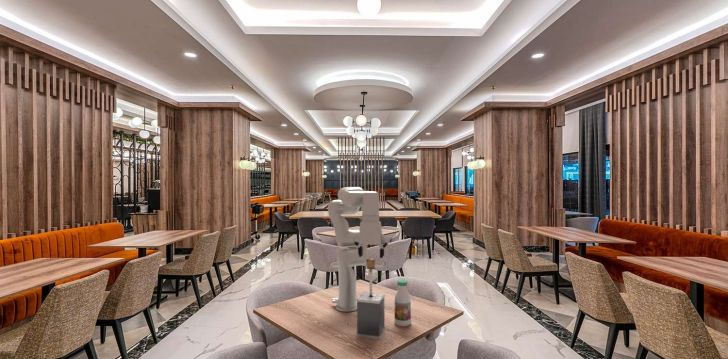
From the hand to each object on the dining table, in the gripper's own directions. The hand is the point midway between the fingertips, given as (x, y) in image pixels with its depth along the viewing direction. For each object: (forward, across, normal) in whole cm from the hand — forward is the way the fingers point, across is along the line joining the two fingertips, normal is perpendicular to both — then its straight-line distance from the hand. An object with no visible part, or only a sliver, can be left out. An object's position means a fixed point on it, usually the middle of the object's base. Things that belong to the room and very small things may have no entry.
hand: (371, 256), depth 140 cm
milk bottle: (+34, +12, +14) cm, 38 cm away
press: (+34, 0, +2) cm, 34 cm away
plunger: (+21, 0, 0) cm, 21 cm away
